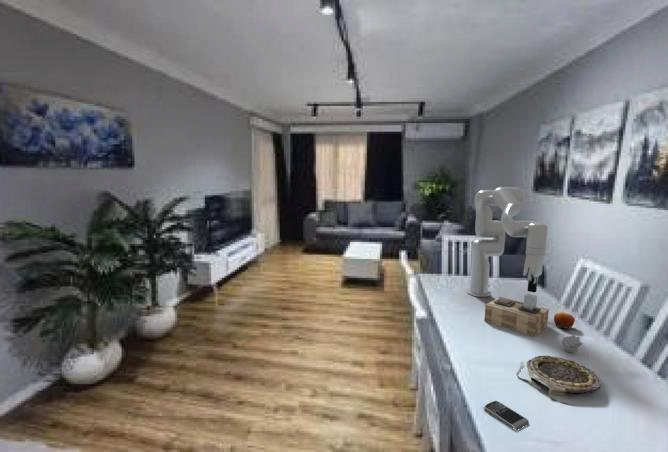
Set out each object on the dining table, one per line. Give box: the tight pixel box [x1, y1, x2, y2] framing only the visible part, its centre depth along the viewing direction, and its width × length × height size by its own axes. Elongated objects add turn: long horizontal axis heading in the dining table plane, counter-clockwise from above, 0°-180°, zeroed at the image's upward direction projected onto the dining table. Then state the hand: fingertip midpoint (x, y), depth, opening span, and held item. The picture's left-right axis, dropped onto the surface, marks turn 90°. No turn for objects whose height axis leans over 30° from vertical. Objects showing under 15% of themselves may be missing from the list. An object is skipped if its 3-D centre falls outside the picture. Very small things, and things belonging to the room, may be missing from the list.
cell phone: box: [483, 400, 530, 431], centre depth 105 cm, size 6×11×1 cm, turn 31°
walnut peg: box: [499, 299, 511, 304], centre depth 174 cm, size 4×4×9 cm
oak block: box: [483, 296, 549, 337], centre depth 170 cm, size 16×22×9 cm
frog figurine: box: [561, 335, 583, 354], centre depth 143 cm, size 6×7×7 cm
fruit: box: [553, 311, 576, 331], centre depth 166 cm, size 8×8×8 cm
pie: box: [516, 354, 602, 404], centre depth 123 cm, size 28×27×5 cm
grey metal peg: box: [523, 293, 538, 311], centre depth 165 cm, size 4×4×9 cm
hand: (531, 291), depth 164 cm, fingers closed
